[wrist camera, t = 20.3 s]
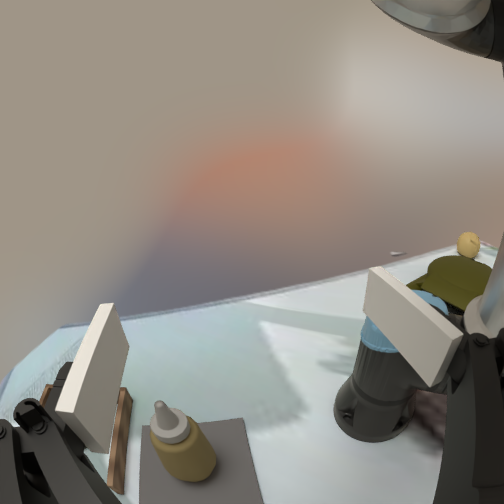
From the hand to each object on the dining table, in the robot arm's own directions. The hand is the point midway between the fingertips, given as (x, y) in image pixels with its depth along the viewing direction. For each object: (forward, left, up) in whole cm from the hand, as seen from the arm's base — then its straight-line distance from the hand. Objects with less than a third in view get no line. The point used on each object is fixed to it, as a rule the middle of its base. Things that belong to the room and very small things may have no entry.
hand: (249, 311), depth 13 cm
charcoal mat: (-1, -12, -35) cm, 37 cm away
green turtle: (-72, +41, -36) cm, 90 cm away
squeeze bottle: (-1, -12, -34) cm, 36 cm away
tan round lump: (-108, +54, -35) cm, 126 cm away
